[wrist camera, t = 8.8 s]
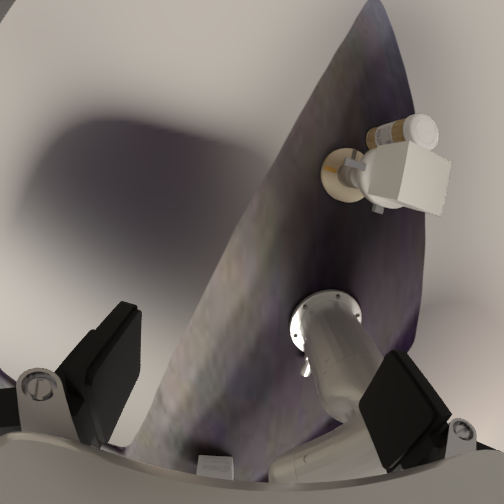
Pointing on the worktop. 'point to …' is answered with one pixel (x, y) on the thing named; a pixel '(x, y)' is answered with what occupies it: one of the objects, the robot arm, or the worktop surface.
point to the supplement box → (215, 467)
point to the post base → (333, 180)
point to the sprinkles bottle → (406, 132)
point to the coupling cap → (403, 177)
